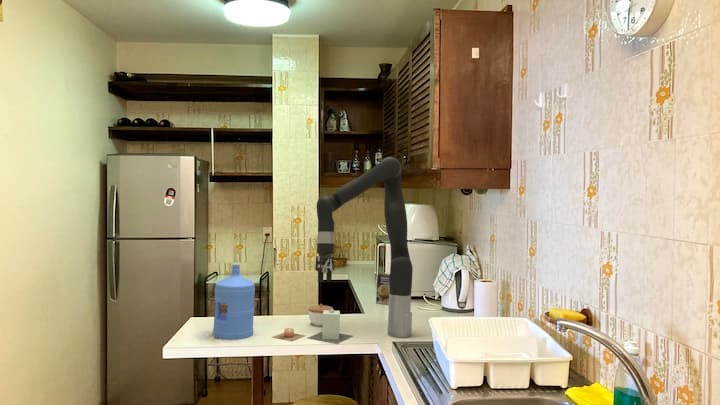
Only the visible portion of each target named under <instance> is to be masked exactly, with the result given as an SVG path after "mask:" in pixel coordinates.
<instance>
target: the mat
mask: <svg viewBox="0 0 720 405" xmlns="http://www.w3.org/2000/svg"><path fill="white" fill-rule="evenodd" d="M353 337H354V335H352V334H351V335H350V334H344V333H340V332H339V340H337V339H322V331H320V332H318V333H315V334H314V335H310V336H308V337H307V338H306V339H308V340H314V341H319V342H323V343H328V344H333V345H339V344H340V343H342V342H344V341H347V340H349V339H351V338H353Z"/></svg>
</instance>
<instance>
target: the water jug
mask: <svg viewBox="0 0 720 405" xmlns="http://www.w3.org/2000/svg"><path fill="white" fill-rule="evenodd" d="M231 267H232V268H231V275H229V276H228V277H225V278H223V279H221V280H219V281H217V282H216V283H215V286H214V301H215V308H214V312H215V314H214V317H213V329H212V335H213V337H215V338H217V339H219V340H220V339H221V340H242V339H246V338H249V337H251V336H252V335H253V334H254V314H255V293H256V286H255V285H256V284H255V282H254V281H252V280H250V279H248V278H246V277H244V276H242V275H241V274H240V272H241V269H240V267H241V265H240V264H232V265H231ZM221 304H226V305H227V306H226V307H227V308H226V312H225V313H221Z"/></svg>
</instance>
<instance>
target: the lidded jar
mask: <svg viewBox="0 0 720 405" xmlns="http://www.w3.org/2000/svg"><path fill="white" fill-rule="evenodd" d="M330 309H333V310H334V308H333V306H329V305H323V303H320V304H319V305H312V306H311V305H310V306H309V307H308V318H309V320H310V322H311V324H312V325H313V326H315V327H323V311H324V310H330Z"/></svg>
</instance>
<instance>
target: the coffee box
mask: <svg viewBox="0 0 720 405" xmlns="http://www.w3.org/2000/svg"><path fill="white" fill-rule="evenodd" d="M376 275H377V277H376V278H377V279H376V281H377V282H376V296H375V298H376V300H375V304H379V305H386V306H387V305H388V306H389V288H390V273H382V272H380V273H377V274H376Z"/></svg>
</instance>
